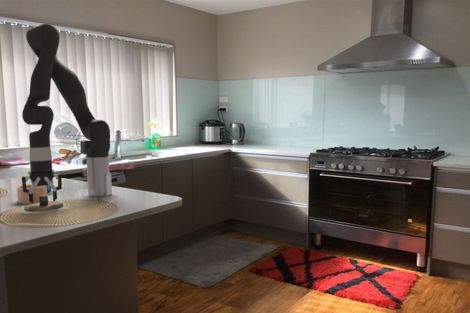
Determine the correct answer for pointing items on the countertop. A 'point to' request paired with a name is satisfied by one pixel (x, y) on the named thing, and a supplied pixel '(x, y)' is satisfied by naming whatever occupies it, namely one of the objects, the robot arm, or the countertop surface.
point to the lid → (43, 205)
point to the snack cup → (47, 185)
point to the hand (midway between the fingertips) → (43, 201)
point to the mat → (43, 211)
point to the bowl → (36, 192)
